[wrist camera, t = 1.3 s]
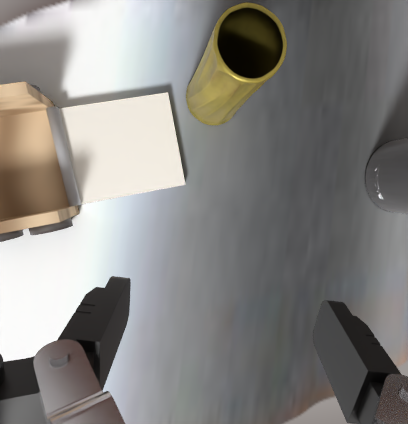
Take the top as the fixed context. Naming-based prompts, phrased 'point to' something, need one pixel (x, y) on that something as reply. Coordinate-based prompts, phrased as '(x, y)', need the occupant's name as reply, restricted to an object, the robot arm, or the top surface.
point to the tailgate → (116, 148)
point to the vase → (236, 62)
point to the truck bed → (29, 166)
